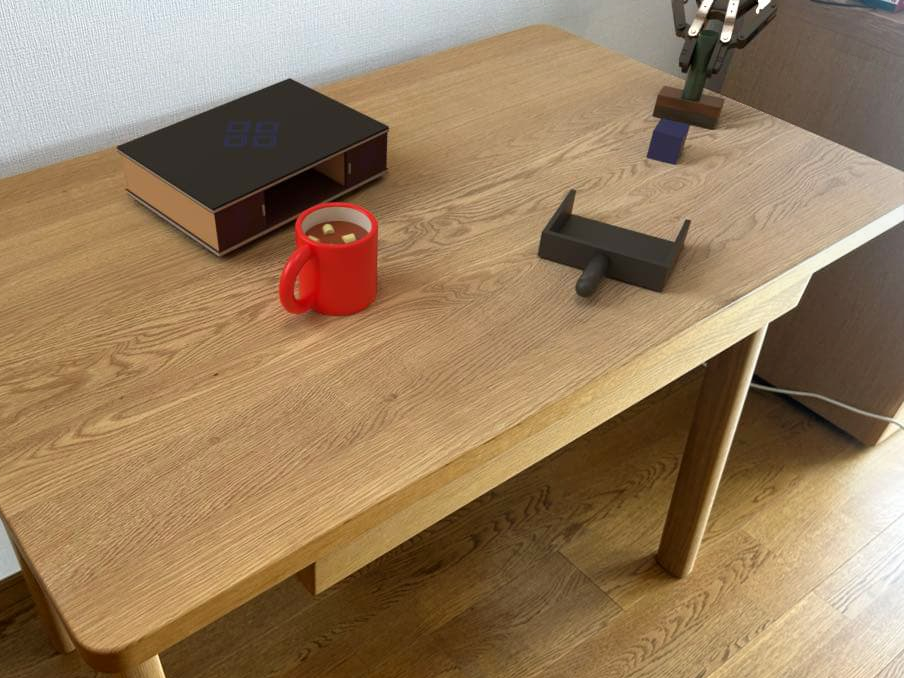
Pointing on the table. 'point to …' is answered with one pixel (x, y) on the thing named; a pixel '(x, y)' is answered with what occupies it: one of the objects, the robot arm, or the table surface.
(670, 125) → the navy blue toy block
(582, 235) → the dustpan
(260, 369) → the table surface
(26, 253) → the table surface
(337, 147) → the low tv stand
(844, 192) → the table surface
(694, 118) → the brush
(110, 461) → the table surface
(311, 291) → the mug
